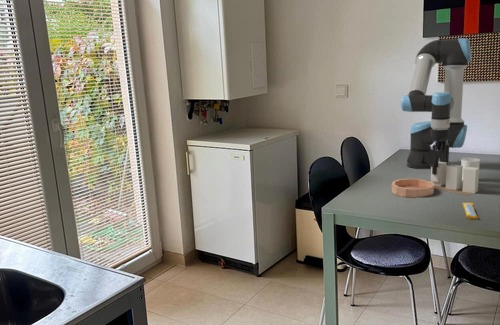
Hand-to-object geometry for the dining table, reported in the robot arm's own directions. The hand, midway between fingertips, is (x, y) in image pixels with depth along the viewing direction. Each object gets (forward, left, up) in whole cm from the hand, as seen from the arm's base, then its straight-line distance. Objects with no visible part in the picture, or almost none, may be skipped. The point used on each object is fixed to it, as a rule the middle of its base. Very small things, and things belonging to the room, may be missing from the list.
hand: (438, 180), depth 204 cm
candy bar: (+23, +26, -4) cm, 35 cm away
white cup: (-18, +5, -3) cm, 19 cm away
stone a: (0, 0, -2) cm, 2 cm away
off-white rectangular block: (0, +7, -2) cm, 8 cm away
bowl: (+15, -3, -3) cm, 16 cm away
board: (0, +7, -3) cm, 8 cm away
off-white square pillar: (0, +15, -2) cm, 15 cm away
